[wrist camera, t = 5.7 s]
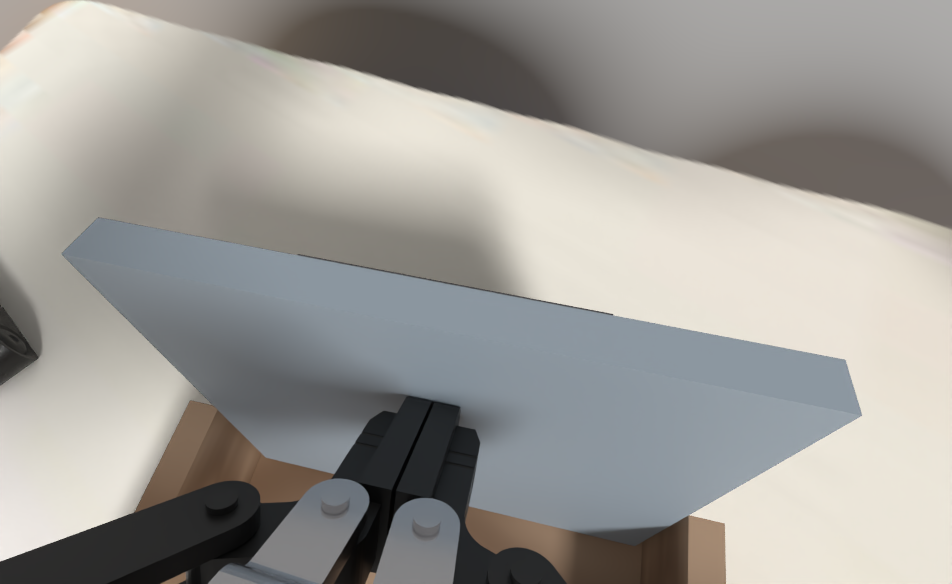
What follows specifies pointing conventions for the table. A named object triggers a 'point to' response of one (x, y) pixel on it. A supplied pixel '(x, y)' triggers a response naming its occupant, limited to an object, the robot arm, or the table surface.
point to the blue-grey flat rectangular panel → (470, 377)
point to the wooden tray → (571, 553)
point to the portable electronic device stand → (12, 348)
